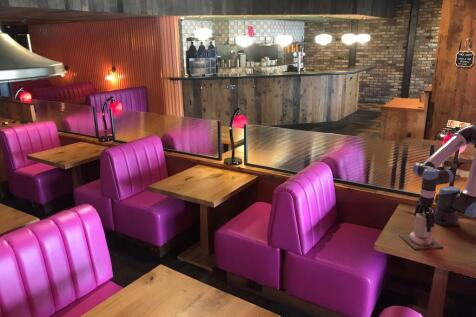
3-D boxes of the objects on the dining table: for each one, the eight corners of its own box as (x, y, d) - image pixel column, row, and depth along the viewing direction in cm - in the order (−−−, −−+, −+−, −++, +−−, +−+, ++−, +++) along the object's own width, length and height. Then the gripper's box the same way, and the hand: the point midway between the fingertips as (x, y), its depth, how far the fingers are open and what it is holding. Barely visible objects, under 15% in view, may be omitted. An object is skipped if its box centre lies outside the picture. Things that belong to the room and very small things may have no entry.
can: (432, 238, 224) (435, 218, 220) (415, 236, 225) (418, 217, 222) (428, 231, 232) (431, 212, 229) (411, 229, 234) (414, 210, 231)
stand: (425, 234, 239) (426, 229, 238) (442, 248, 223) (443, 242, 222) (399, 235, 237) (399, 230, 236) (414, 250, 221) (415, 244, 220)
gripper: (410, 189, 232) (405, 224, 238) (432, 203, 211) (426, 241, 218) (422, 188, 233) (417, 223, 239) (445, 203, 212) (439, 241, 219)
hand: (421, 232), depth 228 cm, fingers closed on can, 9 cm apart
